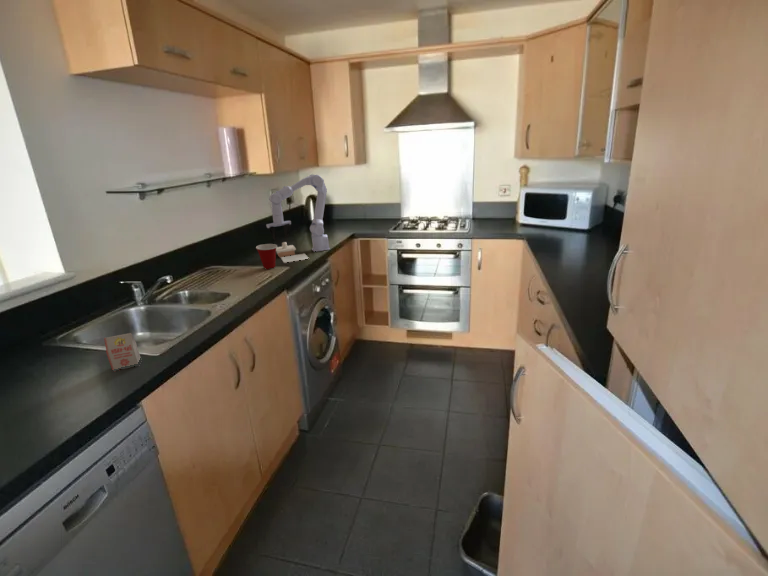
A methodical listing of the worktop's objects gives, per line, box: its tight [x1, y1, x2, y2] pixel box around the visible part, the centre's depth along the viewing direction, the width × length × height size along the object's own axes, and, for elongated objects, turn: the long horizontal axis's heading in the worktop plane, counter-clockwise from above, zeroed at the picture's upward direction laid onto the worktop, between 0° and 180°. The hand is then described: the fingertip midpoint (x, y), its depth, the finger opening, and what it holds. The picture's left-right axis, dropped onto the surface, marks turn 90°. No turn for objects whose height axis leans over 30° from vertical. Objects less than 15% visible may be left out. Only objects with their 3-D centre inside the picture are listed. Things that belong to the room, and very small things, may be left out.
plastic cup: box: [255, 243, 278, 270], centre depth 210 cm, size 11×11×12 cm
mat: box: [280, 252, 309, 264], centre depth 227 cm, size 14×14×1 cm
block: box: [276, 250, 296, 258], centre depth 238 cm, size 9×9×3 cm
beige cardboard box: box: [103, 332, 142, 371], centre depth 117 cm, size 4×7×10 cm, turn 109°
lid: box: [276, 241, 297, 254], centre depth 236 cm, size 11×11×4 cm
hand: (280, 238), depth 232 cm, fingers open, 7 cm apart
